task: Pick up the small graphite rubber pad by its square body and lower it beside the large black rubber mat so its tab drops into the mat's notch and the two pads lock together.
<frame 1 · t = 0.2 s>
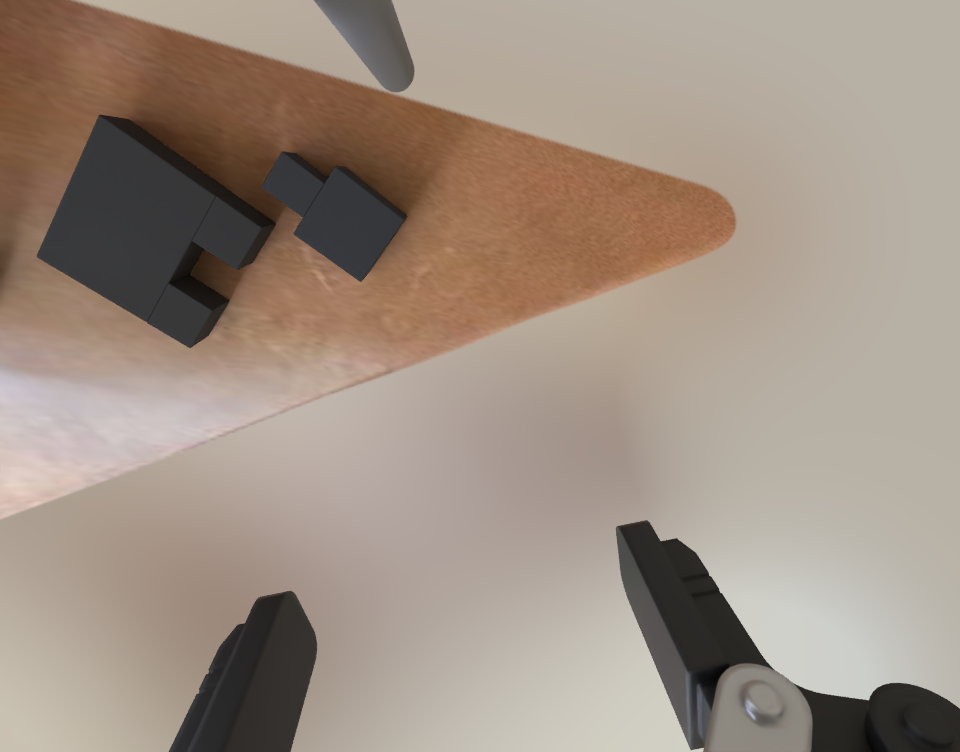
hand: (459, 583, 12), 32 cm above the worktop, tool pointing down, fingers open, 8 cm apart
base pad: (172, 237, 38), on the worktop
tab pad: (356, 222, 39), on the worktop
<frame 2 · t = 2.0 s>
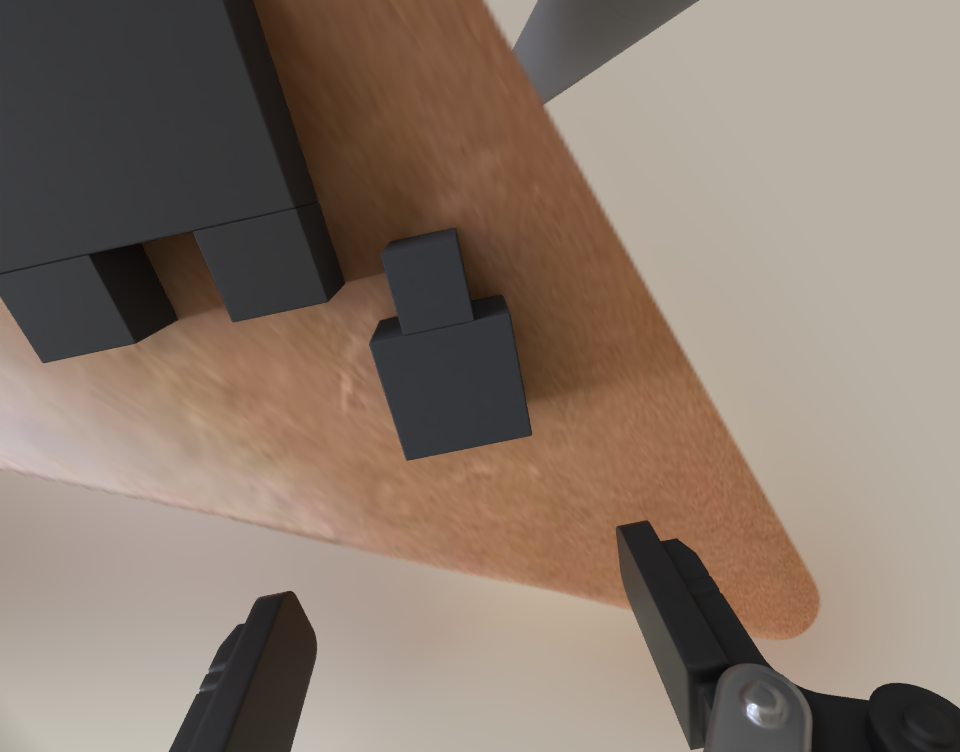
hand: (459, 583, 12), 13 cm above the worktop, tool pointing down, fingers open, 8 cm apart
base pad: (158, 172, 19), on the worktop
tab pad: (454, 364, 24), on the worktop
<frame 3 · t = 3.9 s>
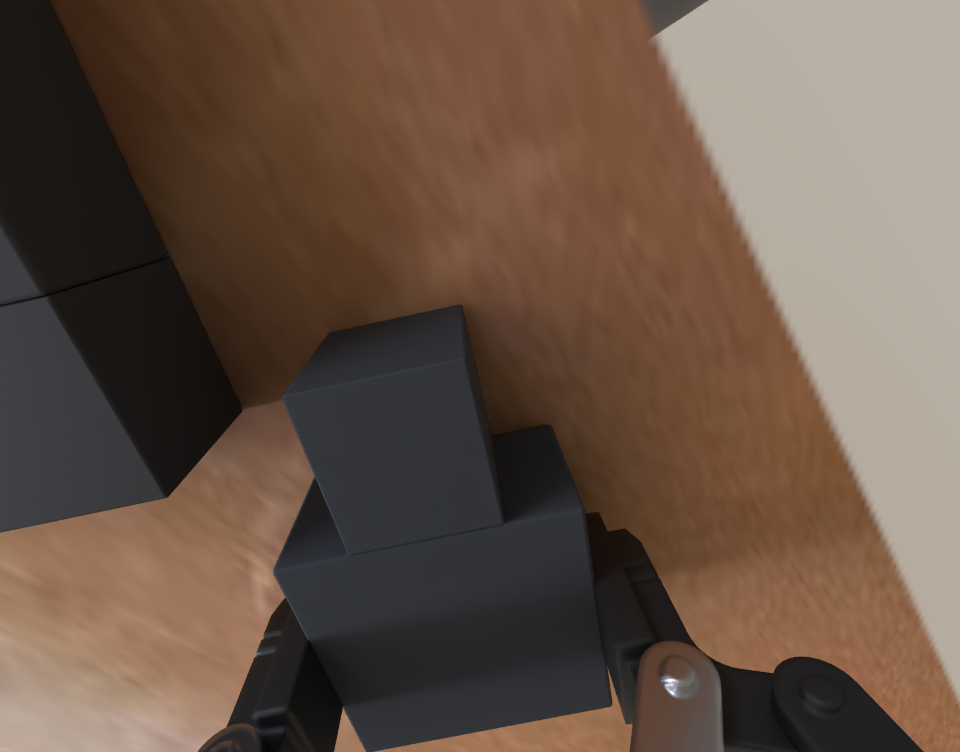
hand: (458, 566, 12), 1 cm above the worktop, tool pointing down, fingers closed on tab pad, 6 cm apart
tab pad: (458, 539, 13), on the worktop, touching gripper
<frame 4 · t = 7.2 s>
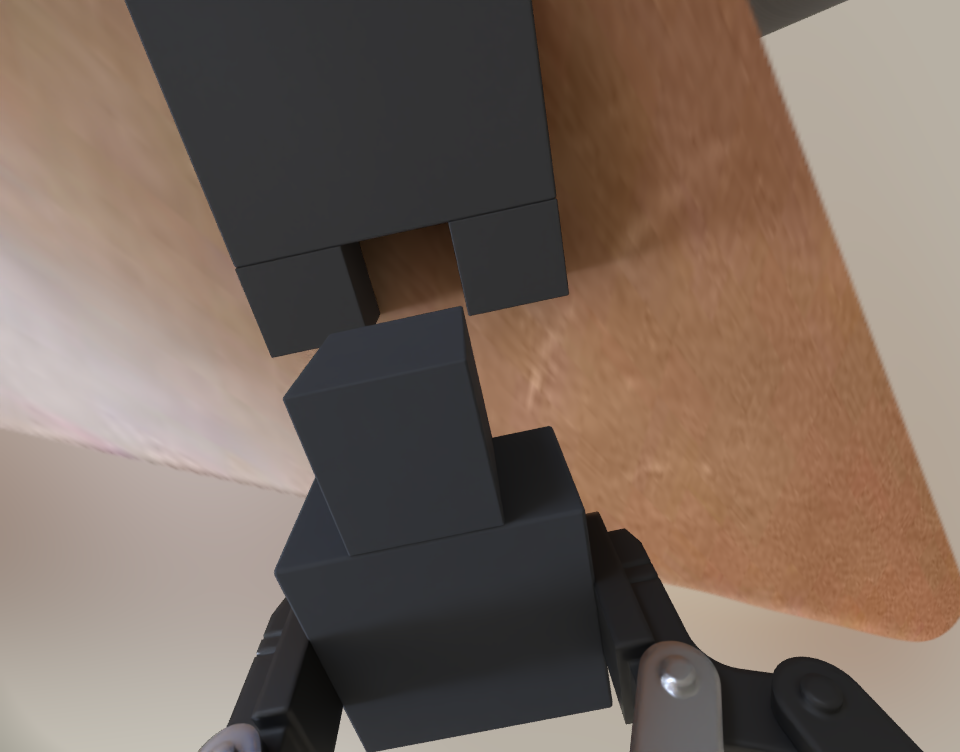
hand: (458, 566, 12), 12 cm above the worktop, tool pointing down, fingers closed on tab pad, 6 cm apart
base pad: (386, 163, 19), on the worktop
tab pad: (459, 539, 13), point 11 cm above the worktop, touching gripper
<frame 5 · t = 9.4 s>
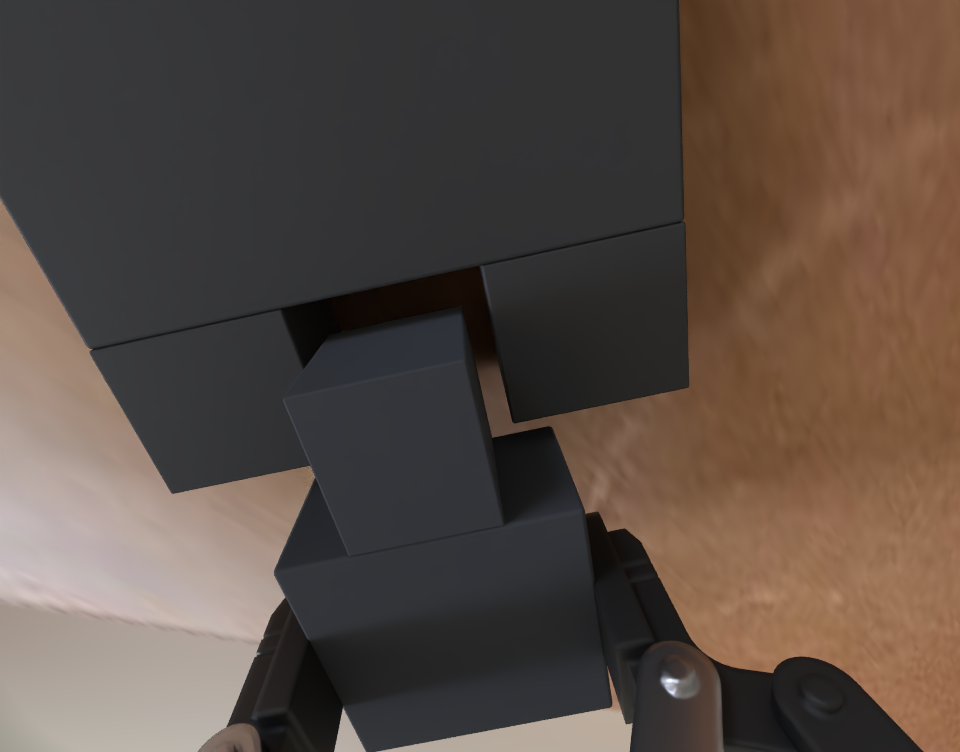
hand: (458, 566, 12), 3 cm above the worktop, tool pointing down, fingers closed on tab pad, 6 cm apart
base pad: (370, 158, 11), on the worktop
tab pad: (459, 540, 13), point 2 cm above the worktop, touching gripper
when the fingers open (1 cm above the worktop, at t = 10.7 s): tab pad stays where it is, on the worktop.
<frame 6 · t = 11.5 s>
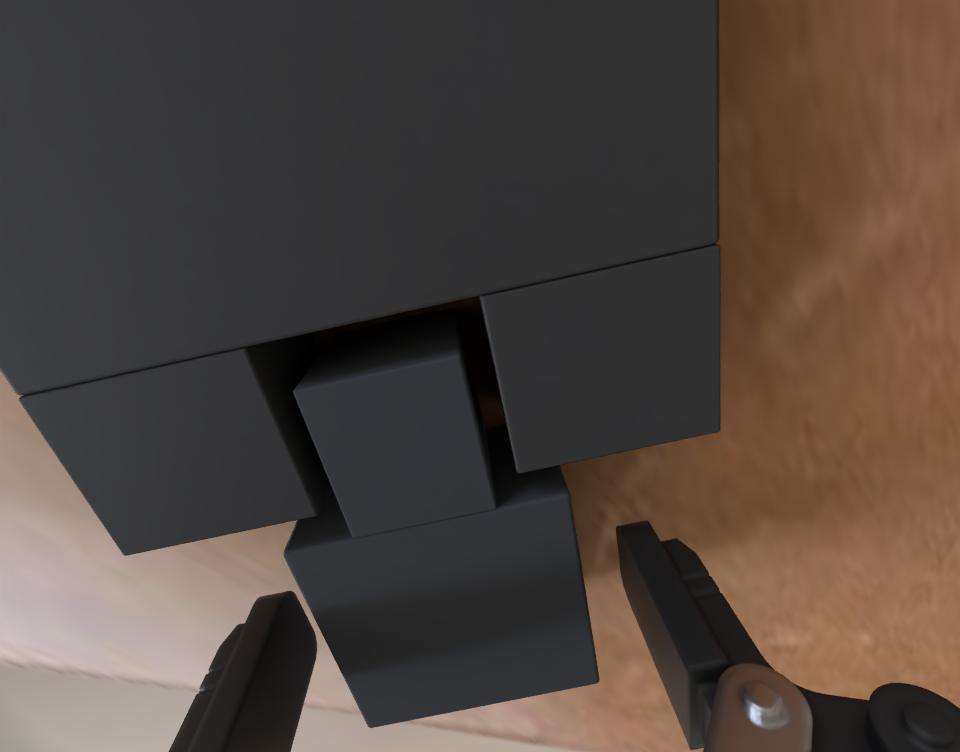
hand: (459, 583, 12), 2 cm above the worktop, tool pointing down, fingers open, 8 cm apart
base pad: (352, 168, 10), on the worktop
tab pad: (455, 528, 14), on the worktop
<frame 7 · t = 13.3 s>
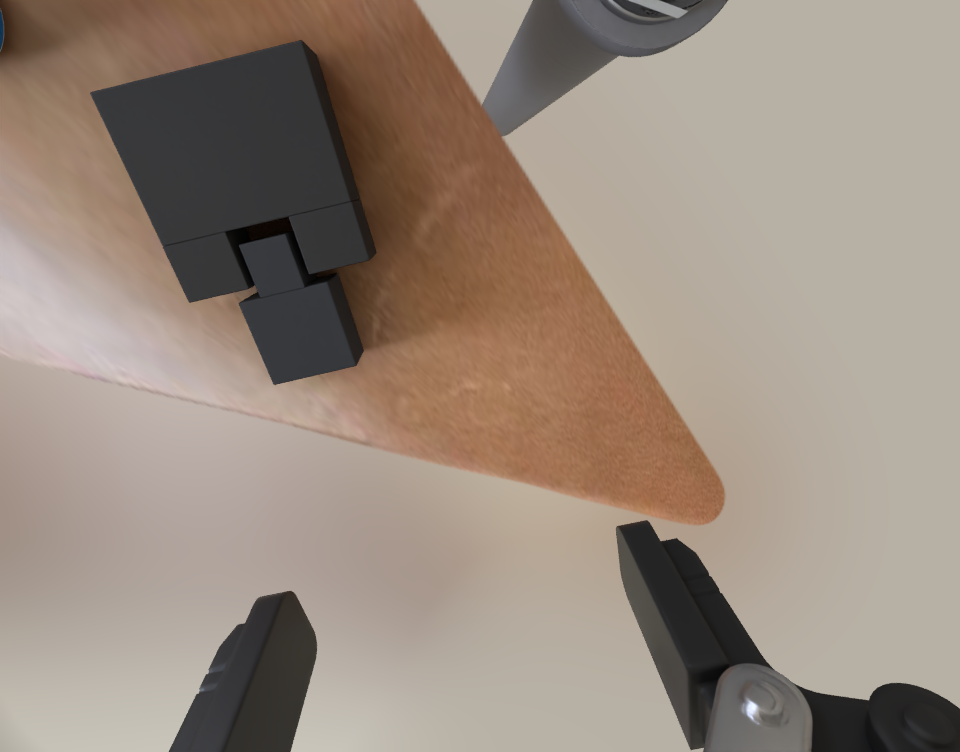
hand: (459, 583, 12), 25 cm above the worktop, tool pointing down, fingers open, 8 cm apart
base pad: (259, 182, 31), on the worktop
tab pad: (311, 322, 35), on the worktop
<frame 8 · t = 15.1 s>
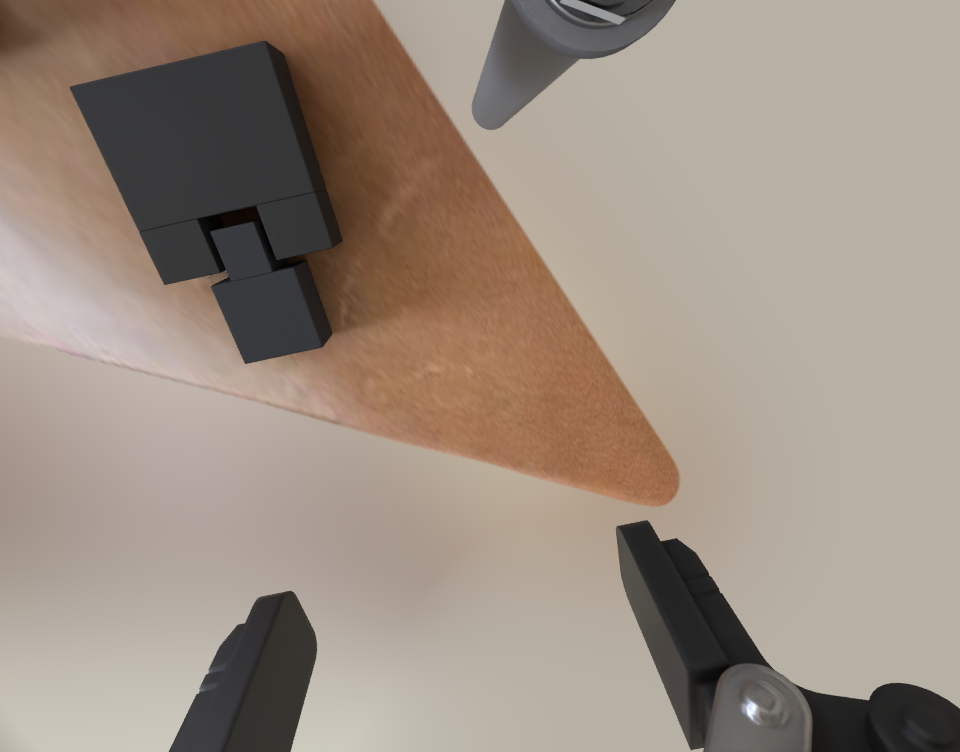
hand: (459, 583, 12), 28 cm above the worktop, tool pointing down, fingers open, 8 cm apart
base pad: (231, 172, 33), on the worktop
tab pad: (282, 306, 37), on the worktop
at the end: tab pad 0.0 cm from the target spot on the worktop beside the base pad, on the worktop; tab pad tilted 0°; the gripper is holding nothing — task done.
